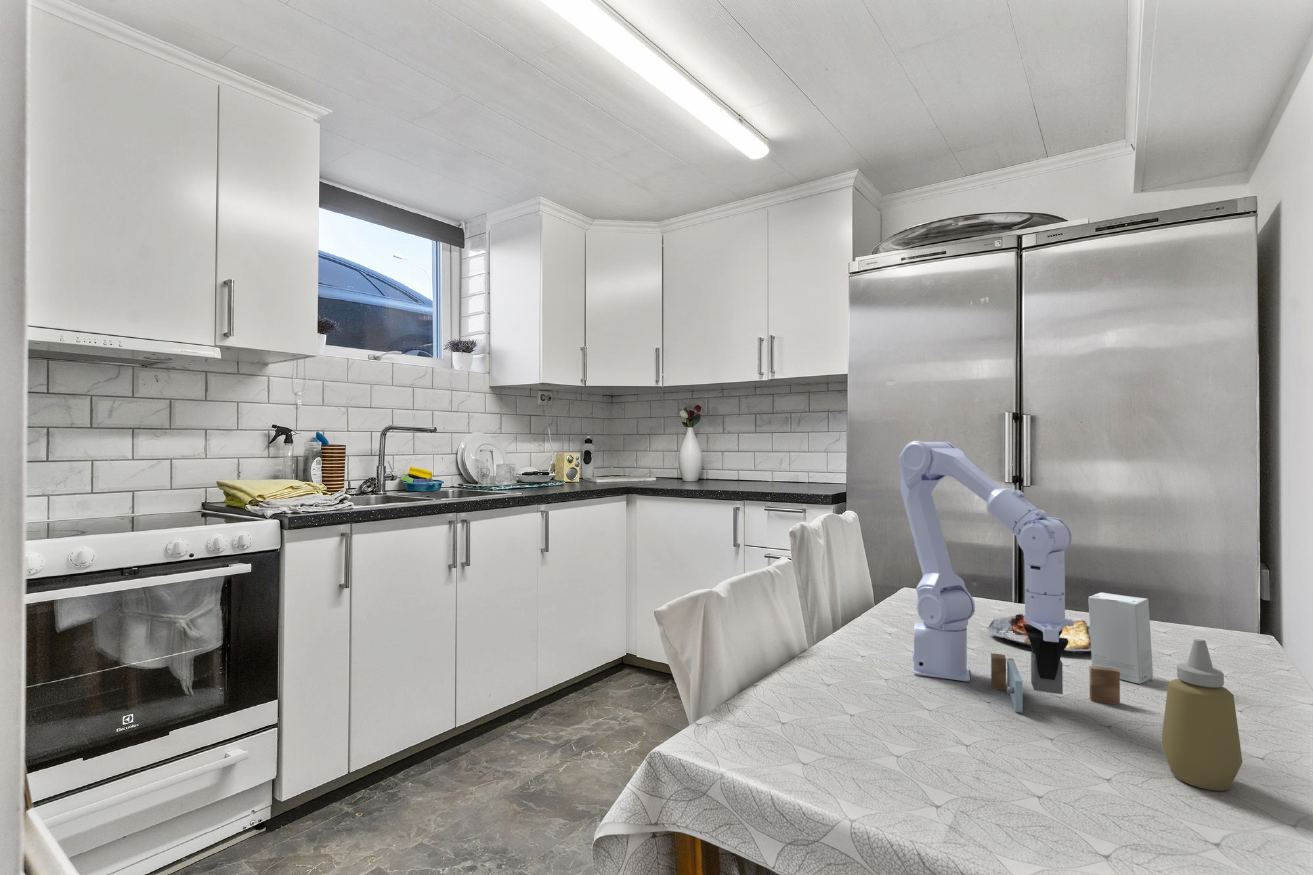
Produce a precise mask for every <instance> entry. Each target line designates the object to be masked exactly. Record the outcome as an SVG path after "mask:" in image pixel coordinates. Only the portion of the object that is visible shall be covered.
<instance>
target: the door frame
mask: <svg viewBox="0 0 1313 875" xmlns="http://www.w3.org/2000/svg"><path fill="white" fill-rule="evenodd" d="M1120 681H1121V679H1120V671H1119V670H1118V669H1114V668H1105V667H1097V666H1092V665H1089V699H1090V701H1091V702H1095V703H1104V704H1111V705H1118V706H1120V705H1121V700H1120V699H1121V686H1120V685H1121V682H1120ZM990 685H991V688H992V689H995V690H1001V691H1007V657H1006V655H1005V654H1003V653H994V652H993V653H992V652H991V653H990Z"/></svg>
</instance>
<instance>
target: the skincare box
mask: <svg viewBox="0 0 1313 875" xmlns="http://www.w3.org/2000/svg"><path fill="white" fill-rule="evenodd" d="M1149 604H1150V601H1149V598H1146V597H1145V598H1144V597H1136V596H1128V595H1122V594H1121V595H1120V594H1115V593H1114V594H1113V593H1107V592H1103V591H1102V592H1098V593H1095V594H1092V595H1091V596H1088V615H1089V627H1090V637H1091V651H1090V653H1091V666H1097V667H1105V668H1114V669H1118V670H1119V671H1120V680H1122V681H1126V682H1130V683H1134V684H1140V685H1142V684H1143V683H1145V682H1148V681H1151V680H1152V679H1153V676H1154V669H1153V652H1152V639H1151V638H1152V636H1151V635H1152V634H1151V621H1150V605H1149Z"/></svg>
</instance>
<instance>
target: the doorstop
mask: <svg viewBox="0 0 1313 875" xmlns="http://www.w3.org/2000/svg"><path fill="white" fill-rule="evenodd" d="M1063 670H1064V669H1063V661H1062V660H1061V659H1060V661H1059V665H1058V670H1057V674H1056V677H1055V680H1050V679H1042V678H1040V676H1039V673H1038V669H1037V663H1036V657H1035V653H1032V652H1030V680H1031V682H1030V683H1031V686H1032V689H1033V691H1035V692H1042V693H1049V694H1057V695H1063V690H1064V688H1063V686H1064V685H1063V681H1064V678H1063V672H1064V671H1063Z"/></svg>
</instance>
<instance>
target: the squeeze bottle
mask: <svg viewBox="0 0 1313 875" xmlns="http://www.w3.org/2000/svg"><path fill="white" fill-rule="evenodd" d="M1176 677H1177V678H1175V679H1173V680H1171V681H1170V682H1168V683H1167V690H1166V699H1165V700H1166V701H1165V707H1164V715H1163V723H1162V731H1161V740H1160V744H1161V747H1162V750H1163V752H1164V755H1165V757H1166V761H1167V763H1168V765H1169V768H1170V769H1169V770H1170V771H1171V773H1172V775H1173V776H1174V777H1175V778H1176V779H1178V780H1179V781H1181V782H1183V783H1186V784H1188V785H1191V786H1193V787H1197V788H1200V789H1204V790H1210V791H1218V792H1219V791H1220V792H1221V791H1223V792H1224V791H1228V790H1230V789H1231V787H1232V785H1233V783H1234V781H1235V779H1236V777H1237V775H1238V773H1239V770H1240V768H1241V766H1242V764H1243V754H1242V748H1241V741H1240V733H1239V725H1238V718H1237V710H1236V704H1235V697H1234V696H1235V695H1234V694H1233V693H1232V692H1231V691H1230V690H1229V689H1227V688H1226V687H1225V686H1224V684H1225V673H1224V672H1223V671H1222V670H1220V669H1218V668H1215V667H1214V666H1213V663H1212V658H1211V656H1210V651H1209V649H1208V645H1207V642H1206V640H1204V639H1200V638H1199V639H1197V638H1194V639H1193V642H1192V646H1191V648H1190V653H1189V655H1188V659H1187V662H1184V663H1183V662H1181V663H1179V664H1177V665H1176Z"/></svg>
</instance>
